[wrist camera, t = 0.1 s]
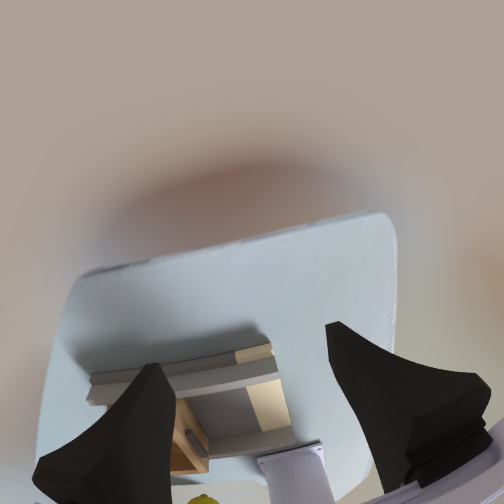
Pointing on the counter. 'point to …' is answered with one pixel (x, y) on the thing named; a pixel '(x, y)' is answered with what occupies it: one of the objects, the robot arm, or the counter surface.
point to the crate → (187, 443)
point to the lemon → (203, 500)
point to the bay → (221, 398)
